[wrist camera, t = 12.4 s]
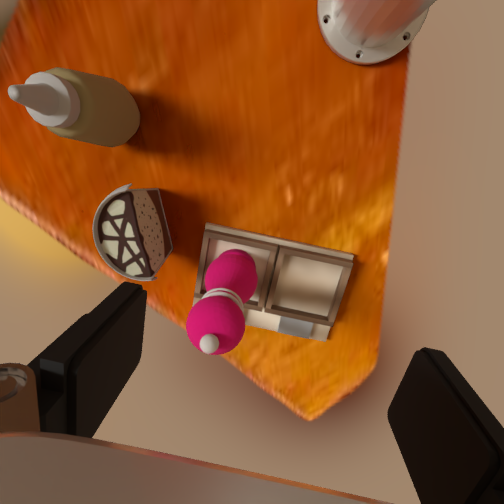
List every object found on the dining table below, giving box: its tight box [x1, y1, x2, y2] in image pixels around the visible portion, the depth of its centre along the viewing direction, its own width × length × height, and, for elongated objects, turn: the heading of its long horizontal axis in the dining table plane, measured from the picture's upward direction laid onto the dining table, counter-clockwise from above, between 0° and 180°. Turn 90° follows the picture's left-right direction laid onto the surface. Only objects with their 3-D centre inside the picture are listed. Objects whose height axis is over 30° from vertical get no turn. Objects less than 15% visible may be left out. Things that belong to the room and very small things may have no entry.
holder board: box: [193, 222, 354, 342], centre depth 47 cm, size 15×22×2 cm
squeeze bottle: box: [8, 67, 140, 147], centre depth 34 cm, size 8×8×18 cm
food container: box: [93, 183, 173, 281], centre depth 42 cm, size 12×6×10 cm, turn 9°
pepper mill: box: [186, 249, 258, 355], centre depth 37 cm, size 7×7×20 cm
